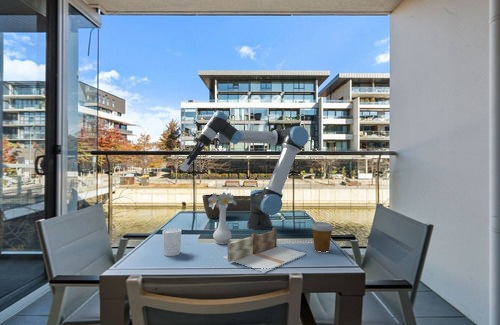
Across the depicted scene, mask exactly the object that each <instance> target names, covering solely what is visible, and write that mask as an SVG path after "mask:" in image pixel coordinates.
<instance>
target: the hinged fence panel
mask: <svg viewBox="0 0 500 325" xmlns="http://www.w3.org/2000/svg"><path fill="white" fill-rule="evenodd" d="M251 254H253V237H252V236H248V237H244V238H241V239H237V240H233V241H229V242H228V243H227V256H228V260H227V262H230V263H231V262H232V261H234V260H237V259H240V258H243V257H246V256H248V255H251Z"/></svg>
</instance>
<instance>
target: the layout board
mask: <svg viewBox="0 0 500 325" xmlns="http://www.w3.org/2000/svg"><path fill="white" fill-rule="evenodd" d="M305 254H306V255H307V253H306V252H301V251H298V250H294V249H292V248H288V247H284V246H279V245H277V246H276V247H273V248H270V249H267V250H264V251H261V252H259V253H256V254H251V255H248V256H246V257H243V258H240V259H237V260H234V262H233V263H235V262H237V263H239V264H238V265H240V264H242V265H241V266H243V265H245V266H249V267H252V268H261V269H263V268H264V269H266V268H267V269H269V268H270V269H272V268H275V267H278V266H280V265H282V266H284V265H286V264H285V263H287V262H289V263H291V262H293V261H295V260H294V259H296V260H297V258H298V259H300V258H302V257H304V256H303V255H305ZM306 255H305V256H306ZM301 256H302V257H301ZM299 257H300V258H299ZM224 258H225V260H227V259H228V255H225V256H223V259H224ZM292 260H293V261H292ZM290 261H291V262H290ZM237 263H236V264H237ZM283 264H284V265H283ZM287 264H288V263H287ZM245 266H244V267H245ZM280 267H281V266H280ZM278 268H279V267H278ZM275 269H276V268H275Z"/></svg>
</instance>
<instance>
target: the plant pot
mask: <svg viewBox="0 0 500 325" xmlns="http://www.w3.org/2000/svg"><path fill="white" fill-rule="evenodd" d="M212 195H213V193H212V194H203V195H202V196H201V197H202V203H203V207H204V212H205V214H206V217H207V219H209V218H216V217H218V218H220V210H219V208H218V207H216V205H215V207H214V209H213V210H212V208H211V207H209V206H208V205H209V203H210V202H208V201H209V200H208V198H210V197H211V196H212ZM219 195H220V194H217V193H216V196H219ZM216 219H217V218H216Z"/></svg>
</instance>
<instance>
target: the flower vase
mask: <svg viewBox="0 0 500 325" xmlns="http://www.w3.org/2000/svg"><path fill="white" fill-rule="evenodd" d="M212 194H213V195H212V196H211V197H210V198H208V200H209V201H208V202H210V203H209V205H208V206H209V207H211V208H212V210H213V209H214V207H215V205H216V207H218V208H219V210H220V214H219V218H218V220H219V221H218V222H219V223H218V226H217V228H216V230H214V232H213V234H212V237H213V239H214V240H215V243H216V244H218V245H226V244H227V245H228V243H230V240H231V239H232V237H233V234H232V232H231V230H230V229H229V228H228V226H227V221H226V220H227V218H226V217H227V213H226V211H227V208H228V206H229V204H233V205H234V206H235V207H236V206H237V201H236V200H235V199H234V194H232V193H231V192H227V193H226V192H224V191H223V192H222V193H220V194H218V195H219V196H216V194H217V192H213V193H212Z"/></svg>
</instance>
